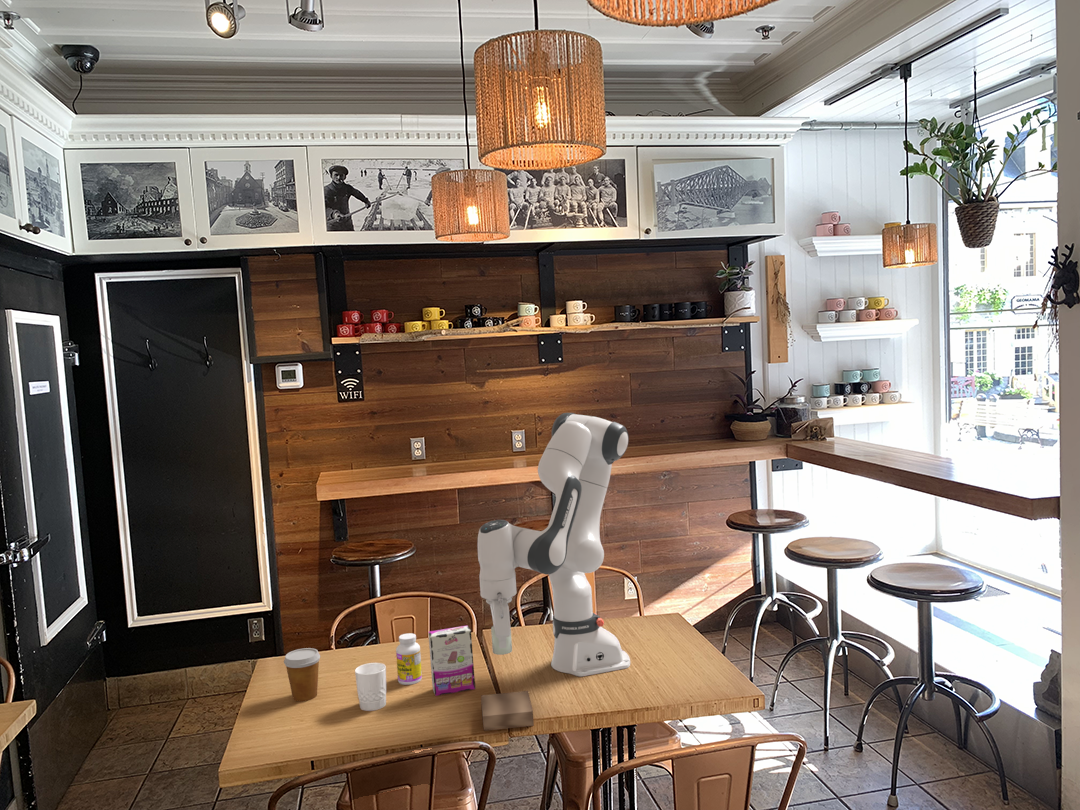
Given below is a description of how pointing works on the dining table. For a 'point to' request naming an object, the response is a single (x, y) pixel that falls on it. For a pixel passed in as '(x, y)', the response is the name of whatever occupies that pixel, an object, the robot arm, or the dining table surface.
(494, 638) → the pale green rounded block
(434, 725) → the dining table surface
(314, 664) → the disposable coffee cup
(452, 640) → the candy bar box
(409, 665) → the supplement bottle
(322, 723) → the dining table surface
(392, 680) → the dining table surface
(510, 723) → the walnut block
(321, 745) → the dining table surface
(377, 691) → the white cup
